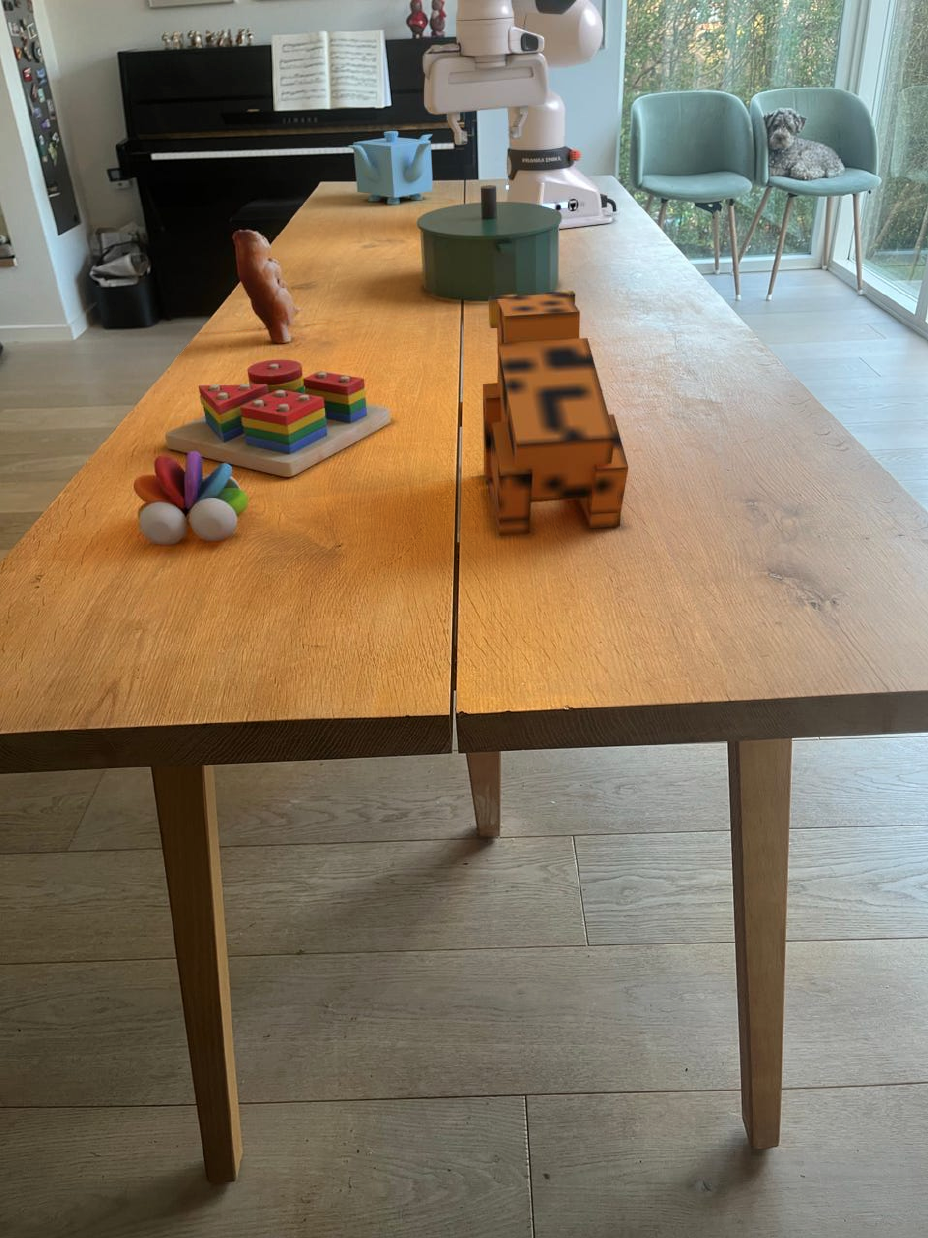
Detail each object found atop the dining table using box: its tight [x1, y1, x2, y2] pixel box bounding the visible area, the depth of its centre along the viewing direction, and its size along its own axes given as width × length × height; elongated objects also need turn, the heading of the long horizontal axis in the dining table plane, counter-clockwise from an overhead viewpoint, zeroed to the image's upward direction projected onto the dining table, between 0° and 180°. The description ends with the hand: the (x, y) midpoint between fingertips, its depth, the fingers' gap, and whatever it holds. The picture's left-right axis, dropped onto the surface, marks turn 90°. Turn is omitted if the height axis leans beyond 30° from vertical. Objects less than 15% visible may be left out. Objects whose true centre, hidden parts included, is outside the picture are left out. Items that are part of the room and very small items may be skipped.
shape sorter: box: [165, 359, 392, 478], centre depth 106 cm, size 18×17×6 cm
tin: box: [419, 225, 560, 302], centre depth 157 cm, size 22×27×10 cm
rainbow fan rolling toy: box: [133, 451, 249, 547], centre depth 87 cm, size 8×10×7 cm
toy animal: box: [482, 290, 629, 536], centre depth 88 cm, size 10×20×16 cm, turn 5°
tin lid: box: [416, 184, 562, 240], centre depth 153 cm, size 23×23×6 cm
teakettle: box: [347, 130, 434, 206], centre depth 231 cm, size 19×19×15 cm
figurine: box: [232, 229, 302, 344], centre depth 134 cm, size 6×8×15 cm
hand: (488, 141), depth 158 cm, fingers open, 8 cm apart
